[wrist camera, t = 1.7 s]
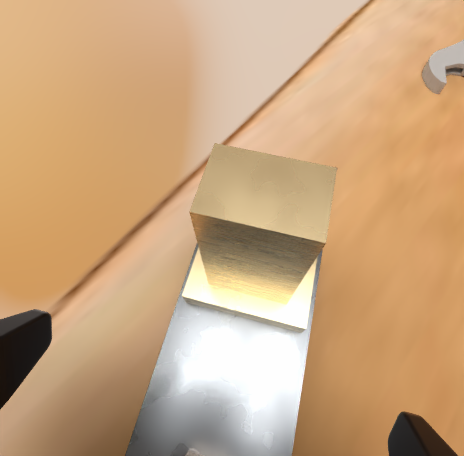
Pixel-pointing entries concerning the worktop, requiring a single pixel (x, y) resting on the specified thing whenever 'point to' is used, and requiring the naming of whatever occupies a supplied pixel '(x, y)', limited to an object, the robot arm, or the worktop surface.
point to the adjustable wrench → (444, 66)
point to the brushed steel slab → (223, 386)
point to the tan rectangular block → (259, 235)
